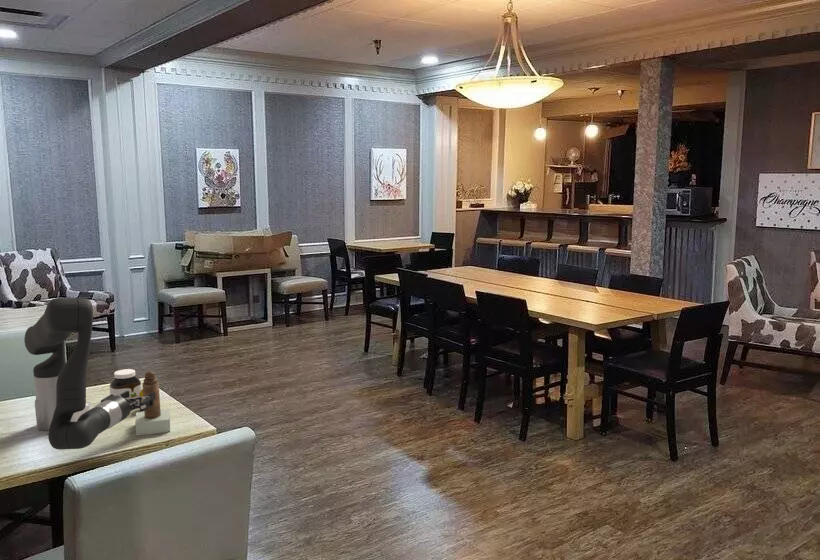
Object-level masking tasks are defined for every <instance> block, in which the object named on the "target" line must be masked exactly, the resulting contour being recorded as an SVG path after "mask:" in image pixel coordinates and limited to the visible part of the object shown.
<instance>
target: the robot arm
mask: <svg viewBox="0 0 820 560" xmlns="http://www.w3.org/2000/svg"><path fill="white" fill-rule="evenodd" d="M93 321H94V308H93V304H92V302H91V300H90V299H89V298H86V297H56V298H52V299H51V300H49V302H48V303H47V305H46V306H45V310H44V313H43V315H42V316H40V318H39V319H38V320H37V322H36V323H34V324H33V325H31V326H29V327H27V329H26V331H25V334H24V340H23V341H24V346H25V348H26V350H27V352H28V353H29V354H31V355H32V356H33V355H34V356H41V355H47V354H51V355H50V356H49V357H47V359H45V360H43V361H42V362H39V363H38V364H36V365H34V367H33V368H32V369H33V370H32V372H33V382H34V383H33V384H34V391H35V392H34V393H35V400H34V408H35V419H36V431H48V436H47V437H48V442H49V444H50V446H51V447H52V448H53V449H55V450H59V451H60V450H61V451H62V450H81V449H84V448H86V447H89V446H90V445H91V444H92V443H93V442H94V441H95V439H96V438H97V437H98V436H99V434H101V433H103V432H105V431H106V430H109V429H111V428H113V427H115V426H116V425H118V424H119V423H122V421H124V420H125V419H127V418H128V417H129V415H130V413H131V412H132V411H135V410H139V412H144V411H145V410H146V409H148V408H150V407H152V406H153V405H154V399H155V393H153V392H152V393H150V394H148V395H147V396H144V397H140V396H137V397H133V398H130V397H129V391H125V392H124V393H122V394H117V395H116V396H114V395H112V394H111V395H110V394H109V395H108V396H106V397H103V398H102V399H101V400H100V402H99V403H98V404H96V405H95V406H94V407H91V409H90V410H89V411H87V412H85V413H83V414H82V415H81V416H80V417H79V418H78V420H77V421H76V422H71V418H72V416H73V414H74V413H76V412H79V411H82V410H83V409H85V406H86V402H87V399H86V398H87V372H88V365H89V363H88V362H89V356H90V350H91V349H90V348H91V338H92V333H93V332H92V331H93V323H94V322H93ZM72 333H77V334H78V336H77V341H76V344H75V347H74V349H73V351H72V353H71V355H70V356H69V358H68V359H67V360H66V340H67V339H68V338H69V337H70V336H71V335H72ZM137 399H138V403H137V404H136V400H137ZM143 399H145V400H144V401H142V400H143Z"/></svg>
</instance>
